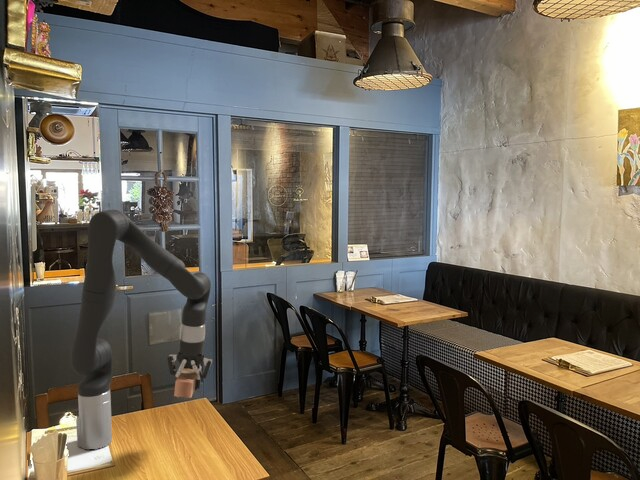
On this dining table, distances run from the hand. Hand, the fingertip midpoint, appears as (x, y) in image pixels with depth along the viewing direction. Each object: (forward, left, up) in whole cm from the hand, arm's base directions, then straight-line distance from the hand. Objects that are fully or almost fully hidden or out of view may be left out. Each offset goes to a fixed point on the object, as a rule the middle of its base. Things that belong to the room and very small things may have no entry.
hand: (187, 388), depth 152 cm
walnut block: (0, +6, +3) cm, 7 cm away
